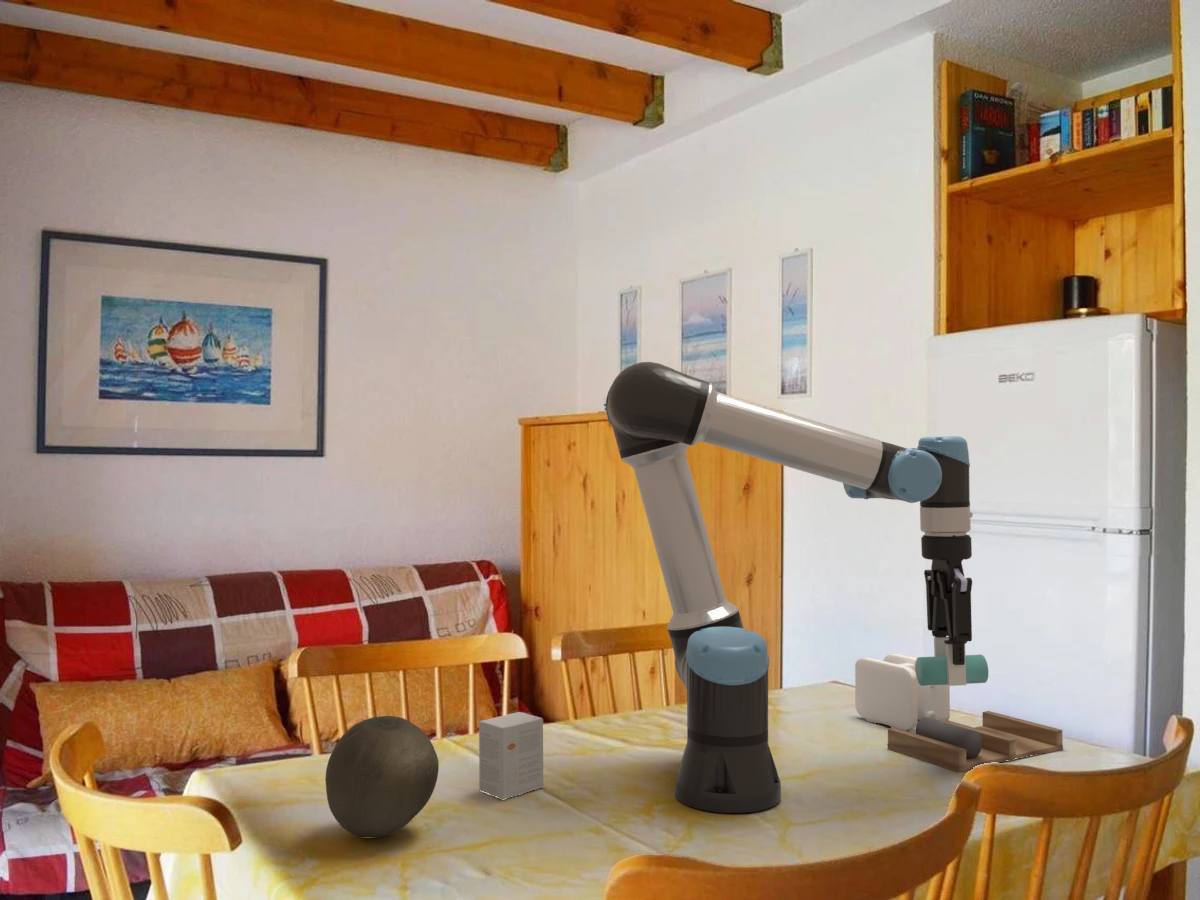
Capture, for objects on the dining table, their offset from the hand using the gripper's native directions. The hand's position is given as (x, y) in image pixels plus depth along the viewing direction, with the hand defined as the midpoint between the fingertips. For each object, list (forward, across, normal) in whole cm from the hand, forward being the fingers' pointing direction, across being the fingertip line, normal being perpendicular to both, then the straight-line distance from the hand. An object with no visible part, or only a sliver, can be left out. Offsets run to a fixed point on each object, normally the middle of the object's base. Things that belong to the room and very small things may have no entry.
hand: (950, 681), depth 161 cm
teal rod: (0, -1, 0) cm, 1 cm away
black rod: (+12, +7, -4) cm, 14 cm away
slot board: (+14, +10, -8) cm, 18 cm away
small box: (+12, -8, +69) cm, 71 cm away
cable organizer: (+14, +28, -1) cm, 31 cm away
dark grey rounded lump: (+12, -24, +85) cm, 90 cm away
